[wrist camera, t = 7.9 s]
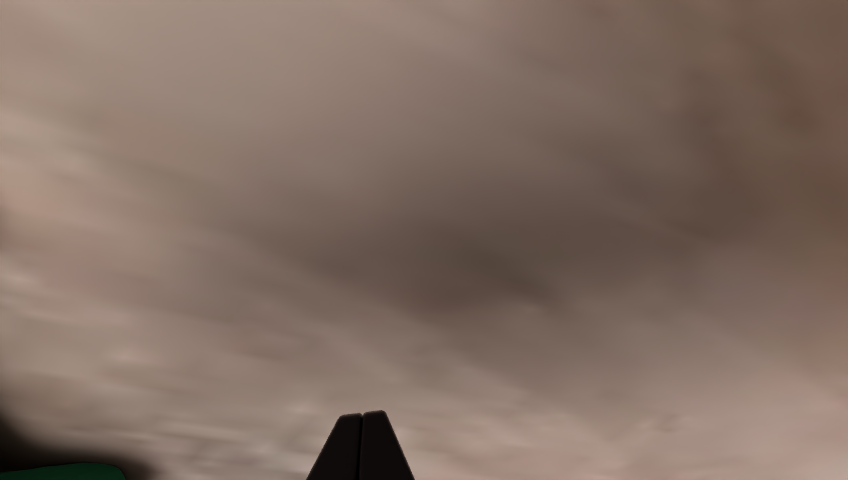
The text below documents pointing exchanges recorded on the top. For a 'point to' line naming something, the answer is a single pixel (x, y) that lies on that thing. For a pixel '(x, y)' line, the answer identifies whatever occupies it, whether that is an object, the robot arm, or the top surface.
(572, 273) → the top surface
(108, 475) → the gaming controller
